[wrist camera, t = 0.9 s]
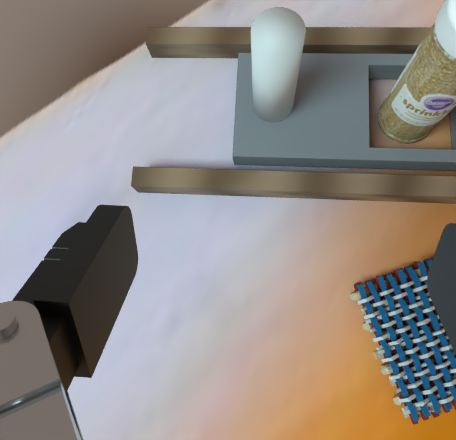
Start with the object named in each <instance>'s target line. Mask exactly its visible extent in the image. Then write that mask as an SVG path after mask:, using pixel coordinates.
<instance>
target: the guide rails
mask: <svg viewBox="0 0 456 440" xmlns="http://www.w3.org/2000/svg"><path fill="white" fill-rule="evenodd" d="M305 28H306V33H305V39H304V45H303V51H302V53H328V54H414V53H415V51H416V49H417V48H418V46H419V45H420V44H421V43H422V41H424V39H425V37H426V36H427V35H428V33H429V31H430V30H431V29H432V28H365V27H305ZM146 45H147V47H148V50H149V52H150V54H151V56H152V58H238V53H251V27H148V30H147V39H146ZM131 186H132V187H133V188H134V189H135V190H136V191H137V192H144V193H172V194H200V195H228V196H256V197H284V198H313V199H341V200H369V201H397V202H425V203H453V204H456V176H428V175H395V174H362V173H329V172H296V171H263V170H230V169H197V168H164V167H133V172H132V182H131Z"/></svg>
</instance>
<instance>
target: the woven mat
mask: <svg viewBox="0 0 456 440" xmlns="http://www.w3.org/2000/svg"><path fill="white" fill-rule="evenodd" d="M423 262H424V264H425V266H424V264H423ZM423 262H419V263H417V262H415V263H413V269H414V270H413V269H412V267H411V266H407V267H404V269H405V272H406V273H404V271H403V269H400V270H399V269H398V270H396V271H394V274H395V276H396V277H393V276H392V274H390V273H388V274H386V275H384V276H385V278H386V280H385V281H384V279H383V277H382V276H381V277H376V278H375V281H376V284H374V285H373V284H372V282H371V281H369V280H368V281H366V282H365V285H366V288H363V285H362V284H358V283H357V284H354V288H355V291H356V292H354V293H351V294H350V299H351V300H352V301H354V302H355V301H357V302H358V305H359V304H362V306H363V308H361V309H360V312H361V314H362V315H365V314H366V315H365V316H364V319H368V320H365V323H364V324H362V326H363V328H364V330H368V331H370V332H371V333H372V332H374V333H375V334H374V335H373V336H372V340H373V342H375V343H379V345H380V346H379V347H377V348H376V349H377V351H374V352H373V353H374V356H375V358H376V360H377V359H380V358H383V357H384V358H385V359H381V360H382V362H386V365H381V372H382V374H383V375H386V374H390V375H391V376H390V377H389V379H390V382H391V385H392V387H394V386H397V388H398V389H397V390H396V394H397V393H398V392H399V394H397V395H395V396H394V398H393V401H394V403H395V404H397V405H400V406H401V405H402V404H403V403H404V404H405V407H403V408H402V412H403V414H404V417H405V418H408V417H410V418H411V421H412V423H413V424H417V423H418V420H419V419H418V414H421V416H422V418H423V420H427V419H429V417H428V416H430V415H431V414H430V413H429V412H431V413H432V415H433V417H434V418H435V417H438V416H439V414H438V413H440V412H441V411H440V408H441V407H443V409H444V412H449V411H450V409H452V406H451V404H450V402H452V403H453V405H454V407H455V410H456V388H455V387H456V355H455V353H454V350H453V348H452V346H451V344H450V341H449V339H448V337H447V334H446V332H445V330H444V328H443V325H442V323H441V321H440V319H439V316H438V314H437V312H436V309H435V307H434V305H433V303H432V300H431V298H430V296H429V292H428V286H427V278H428V276H427V275H428V272H429V269H430V266H431V263H432V260H431V259H427V260H424V261H423ZM407 281H410V282H408V283H407ZM421 284H422V285H421ZM398 285H400V286H398ZM410 286H412V288H410ZM388 288H390V289H389V290H387V289H388ZM400 289H402V292H401V290H400ZM377 292H380V293H377ZM391 292H392V294H393V295H392V296H391V295H390V294H389V293H391ZM425 292H426V293H425ZM368 296H370V297H368ZM380 296H381V299H382V300H380ZM414 296H415V297H414ZM427 296H428V297H427ZM367 297H368V298H367ZM358 300H359V301H358ZM370 300H372V301H373V303H371V304H370V303H369V301H370ZM415 300H416V302H415ZM396 303H397V304H396ZM407 303H408V305H407ZM397 307H398V308H399V309H397V310H396V309H395V308H397ZM432 310H435V312H432ZM375 311H377V312H375ZM387 311H388V313H387ZM373 312H375V313H373ZM411 313H412V314H411ZM377 315H379V316H377ZM423 315H424V316H423ZM375 316H377V317H375ZM413 317H414V318H415V319H414V320H412V318H413ZM438 320H439V322H440V323H438ZM390 321H391V322H390ZM402 321H404V322H405V323H402ZM427 324H429V326H428V327H427ZM392 325H395V327H391V326H392ZM440 326H441V327H440ZM382 328H383V331H384V332H382V330H381V329H382ZM417 328H418V329H419V331H418V330H417ZM408 331H409V333H410V334H409V335H407V333H406V332H408ZM444 335H445V336H444ZM397 336H399V337H400V339H398V340H397V339H396V337H397ZM435 339H436V340H435ZM387 340H388V341H389V343H386V341H387ZM433 340H435V341H433ZM437 343H438V344H437ZM436 344H437V345H436ZM412 346H415V348H413V347H412ZM426 348H427V349H426ZM404 349H405V351H403V350H404ZM416 351H418V352H416ZM415 352H416V353H415ZM394 353H395V355H394V356H391V354H394ZM441 353H442V355H441ZM405 355H407V356H405ZM429 357H432V358H431V359H430V358H429ZM396 358H397V360H395V359H396ZM442 359H443V360H442ZM420 361H421V362H422V363H421V364H420ZM433 362H434V363H433ZM410 364H412V367H411V368H409V366H408V365H410ZM421 368H422V369H421ZM447 368H448V369H447ZM400 369H402V372H401V373H399V370H400ZM438 372H439V374H437V373H438ZM436 374H437V375H436ZM440 377H441V378H440ZM415 379H418V381H417V382H415ZM429 381H430V382H429ZM406 382H407V383H408V385H405V384H404V383H406ZM454 385H455V387H454ZM444 387H445V388H446V390H447V391H445V390H444ZM407 389H409V390H407ZM434 391H435V392H436V395H433V392H434ZM422 395H424V397H425V400H423V396H422ZM413 399H415V401H416V403H413V404H412V402H411V400H413Z"/></svg>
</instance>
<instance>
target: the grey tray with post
mask: <svg viewBox="0 0 456 440" xmlns="http://www.w3.org/2000/svg"><path fill="white" fill-rule="evenodd" d="M305 33H306V28H305V24H304V21H303V20H302V18H301V17H300V16H299V15H298V14H297V13H296V12H294V11H293V10H290V9H288V8H283V7H275V8H270V9H267V10H265V11H263V12H262V13H260V14H259V15H258V16H257V17H256V19H255V20H254V22H253V24H252V27H251V53H238V70H237V88H236V105H235V123H234V141H233V161H234V165H267V166H301V167H336V168H370V169H404V170H438V171H456V106H455V107H454V108H453V109H452V110H451V111H450V126H451V145H452V150H446V149H406V148H369V78H379V79H398V78H399V76H400V75H401V73H402V72H403V70H404V68H405V67H406V65H407V64H408V62H409V60H410V59H411V57H412V56H413V54H328V53H302V51H303V45H304V39H305Z"/></svg>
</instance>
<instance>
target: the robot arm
mask: <svg viewBox="0 0 456 440" xmlns="http://www.w3.org/2000/svg"><path fill="white" fill-rule="evenodd" d="M137 265H138V251H137V245H136V239H135V232H134V226H133V220H132V214H131V210H130V208H129V207H128V206H116V205H99V206H97V208H96V209H95V210H94V212H93V213H92V215H91V216H90V218H89V219H88V221H87V222H86V223H82V222H78V223H77V224H75V225H74V226H72V227H71V228H69V229H68V230H67V231H65V232H64V233H62V234H61V236H60V237H59V238H58V240H57V241H56V242H55V244H54V245H53V247H52V249H50V251H49V252H48V253H47V255H46V256H45V257H44V261H41V263H40V264H39V265H38V267H37V268H36V269H35V271H34V272H33V273H32V275H31V276H30V277H29V279H28V280H27V281H26V283H25V284H24V285H23V287H22V288H21V289H20V291H19V292H18V293H17V295H16V296H15V298H14V299H13V300H12V301H8V302H3V303H0V440H83V437H82V434H81V431H80V428H79V425H78V422H77V418H76V415H75V412H74V409H73V406H72V403H71V400H70V397H69V394H68V391H67V390H68V388H69V386H70V384H71V382H72V379H73V377H74V376H76V377H88V378H91V377H92V375H93V373H94V370H95V368H96V366H97V363H98V361H99V359H100V356H101V354H102V352H103V349H104V347H105V345H106V342H107V340H108V338H109V335H110V333H111V331H112V328H113V326H114V324H115V321H116V319H117V317H118V314H119V312H120V310H121V307H122V305H123V303H124V300H125V298H126V296H127V293H128V291H129V289H130V286H131V284H132V282H133V279H134V277H135V274H136V271H137ZM427 286H428V292H429V296H430V298H431V300H432V303H433V305H434V307H435V309H436V312H437V314H438V316H439V319H440V321H441V323H442V325H443V328H444V330H445V332H446V334H447V337H448V339H449V341H450V344H451V346H452V348H453V350H454V353H455V355H456V224H454V223H449V224H447V225H446V226H445V228H444V229H443V232H442V235H441V237H440V240H439V243H438V246H437V249H436V252H435V254H434V257H433V260H432V263H431V266H430V269H429V272H428V278H427Z"/></svg>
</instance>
